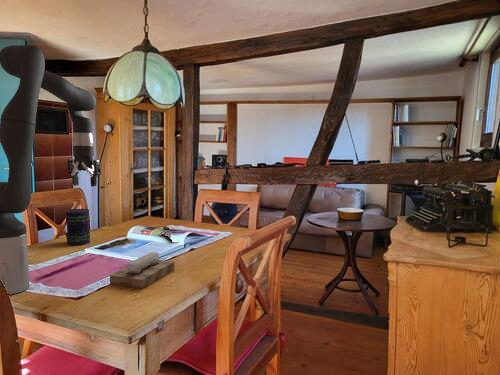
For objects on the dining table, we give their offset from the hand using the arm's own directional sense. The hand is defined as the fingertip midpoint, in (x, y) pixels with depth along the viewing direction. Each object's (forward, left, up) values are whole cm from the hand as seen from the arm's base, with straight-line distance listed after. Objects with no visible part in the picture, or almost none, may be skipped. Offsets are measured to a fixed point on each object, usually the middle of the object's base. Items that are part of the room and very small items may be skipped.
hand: (84, 185), depth 154 cm
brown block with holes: (-14, -36, -28) cm, 48 cm away
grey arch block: (-14, -36, -28) cm, 48 cm away
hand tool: (+36, -16, -29) cm, 49 cm away
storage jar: (+14, +17, -28) cm, 36 cm away
